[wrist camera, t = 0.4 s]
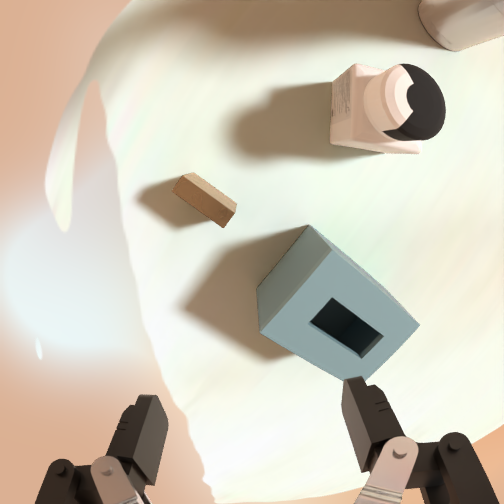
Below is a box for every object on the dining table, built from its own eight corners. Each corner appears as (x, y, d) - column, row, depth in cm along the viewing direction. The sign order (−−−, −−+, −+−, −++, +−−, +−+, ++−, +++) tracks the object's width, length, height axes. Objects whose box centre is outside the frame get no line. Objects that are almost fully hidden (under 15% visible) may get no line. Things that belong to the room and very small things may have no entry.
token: (193, 172, 32) (182, 175, 26) (237, 203, 33) (234, 213, 27) (184, 185, 32) (171, 191, 26) (227, 216, 33) (223, 228, 28)
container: (390, 93, 29) (454, 71, 16) (388, 154, 31) (454, 156, 19) (331, 80, 29) (376, 43, 16) (328, 144, 31) (375, 137, 19)
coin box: (309, 224, 34) (332, 249, 24) (385, 288, 36) (420, 325, 27) (256, 288, 36) (259, 332, 27) (336, 341, 39) (356, 388, 29)
